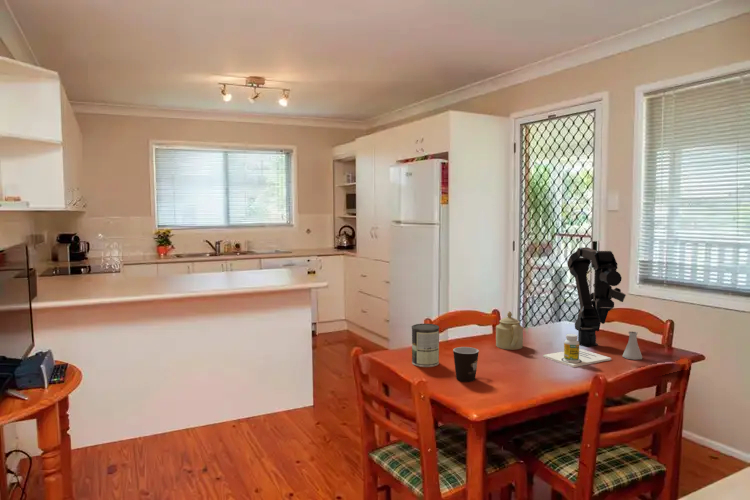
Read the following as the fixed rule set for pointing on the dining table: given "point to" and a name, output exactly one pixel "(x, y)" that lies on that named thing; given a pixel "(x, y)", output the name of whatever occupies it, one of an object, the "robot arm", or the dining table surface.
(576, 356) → the supplement bottle
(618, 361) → the dining table surface
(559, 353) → the notepad
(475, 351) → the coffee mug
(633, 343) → the flask
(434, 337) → the coffee can
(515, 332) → the sugar bowl
